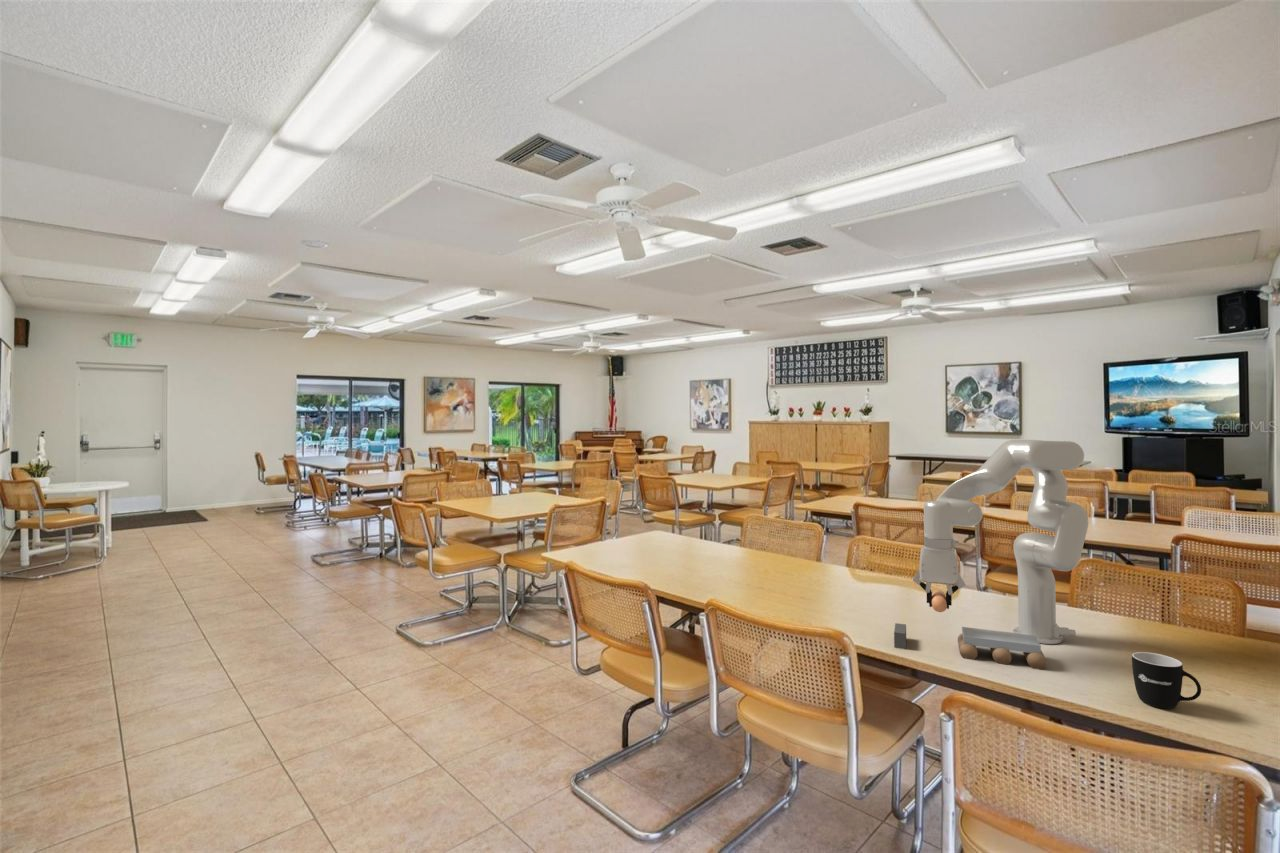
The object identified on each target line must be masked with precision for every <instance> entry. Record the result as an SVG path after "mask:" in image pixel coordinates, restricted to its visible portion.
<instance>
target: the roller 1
mask: <svg viewBox="0 0 1280 853" xmlns="http://www.w3.org/2000/svg"><path fill="white" fill-rule="evenodd" d="M931 608H932V609H933V610H934V611H935V612H938V613H944V612H945V611H946V610H948V609H947V603H946V593H944V591H943V590H940V589H935V590H933V591H932V607H931Z"/></svg>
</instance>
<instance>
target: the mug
mask: <svg viewBox="0 0 1280 853" xmlns="http://www.w3.org/2000/svg"><path fill="white" fill-rule="evenodd" d="M1183 666H1184V665H1183V662H1181V661H1180V660H1178V659H1176V658H1174V657H1171V656H1168V655H1165V654H1160V653H1156V652H1147V651H1144V652H1143V651H1138V652H1134V653H1132V655H1131V667H1132V676H1133V680H1134V681H1133V682H1134V687H1135V691H1136V694H1137V696H1138V698H1139V699H1140V701H1142V703H1144V704H1147V705H1149V706H1153V707H1155V708H1160V709H1174V708H1176V707H1177V706H1178V704H1179V703H1180V702H1190V701H1194V700H1196V699H1198V698H1199V697H1200V696H1201V693H1202V687H1201V686H1202V685H1201V684H1200V682H1199V681H1198V679H1197V678H1196V677H1195V676H1193V675H1192V674H1191V673H1189V672H1187V671H1185V670H1184V668H1183ZM1184 677H1187V678H1189V679H1190V680H1192V681H1193V682H1194V684H1195V686H1196V692H1195V694H1194V695H1191V696H1183V695H1182V688H1183V678H1184Z"/></svg>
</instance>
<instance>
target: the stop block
mask: <svg viewBox="0 0 1280 853" xmlns="http://www.w3.org/2000/svg"><path fill="white" fill-rule="evenodd" d="M893 640H894V641H893V642H894V643H893V644H894V648H895V649H899V650H900V649H902V650H906V649H907V624H906V623H897V622H896V623H895V624H894V630H893Z"/></svg>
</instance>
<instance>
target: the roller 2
mask: <svg viewBox="0 0 1280 853" xmlns="http://www.w3.org/2000/svg"><path fill="white" fill-rule="evenodd" d="M957 643H958V644H957V645H958V651H959V655H960V656H961V658H963V659H965V660H973V661H974V660H976V659H977V657H978V649H977V646H973V645H971V644H964V642H963V637H962V633H960V634H959V635H958V636H957Z"/></svg>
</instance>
